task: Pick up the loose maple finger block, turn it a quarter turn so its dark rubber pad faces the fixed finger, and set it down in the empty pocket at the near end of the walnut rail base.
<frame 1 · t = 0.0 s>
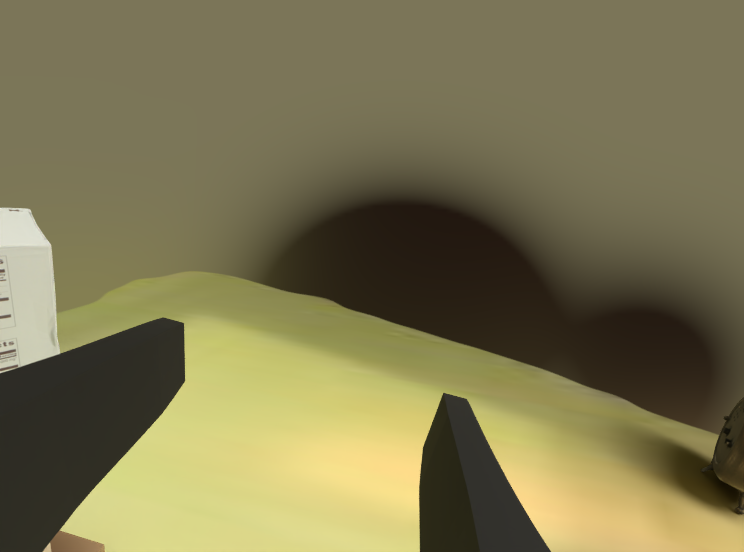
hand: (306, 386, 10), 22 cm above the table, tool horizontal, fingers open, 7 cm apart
alarm clock: (723, 486, 43), on the table
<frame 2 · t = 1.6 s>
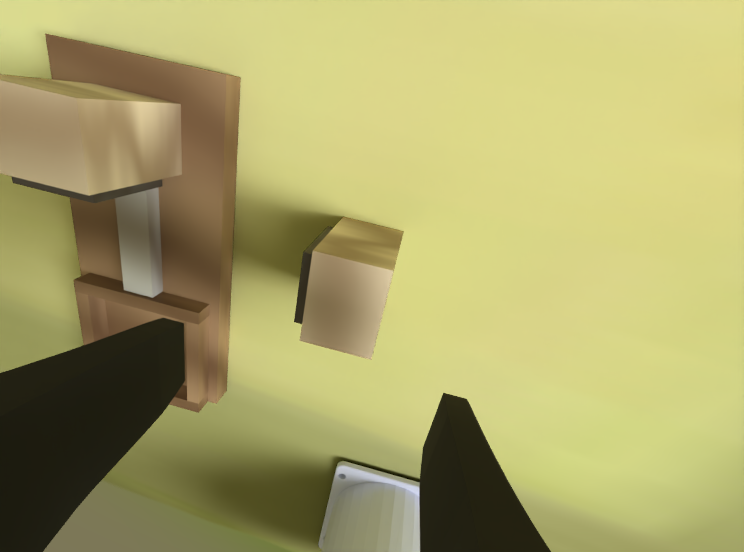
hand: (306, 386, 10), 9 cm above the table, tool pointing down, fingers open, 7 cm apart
rail base: (162, 245, 20), on the table
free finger: (365, 261, 18), on the table
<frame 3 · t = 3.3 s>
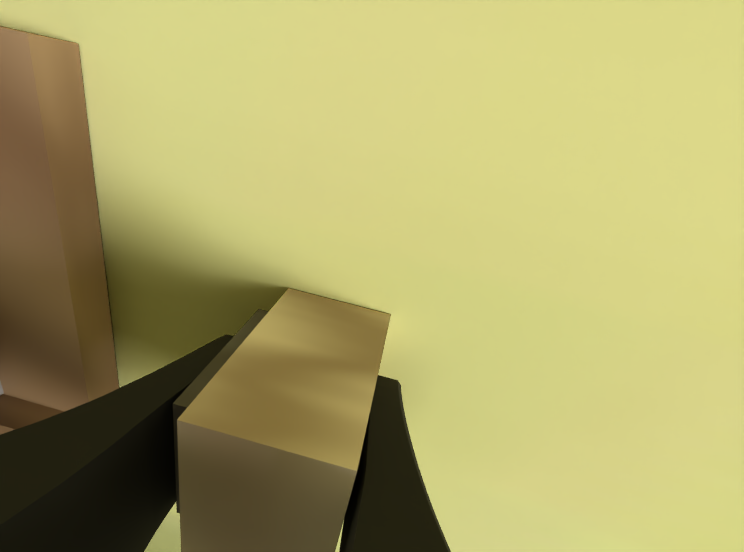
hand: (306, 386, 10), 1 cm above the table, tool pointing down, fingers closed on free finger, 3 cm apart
rail base: (7, 319, 13), on the table
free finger: (328, 357, 11), on the table, touching gripper
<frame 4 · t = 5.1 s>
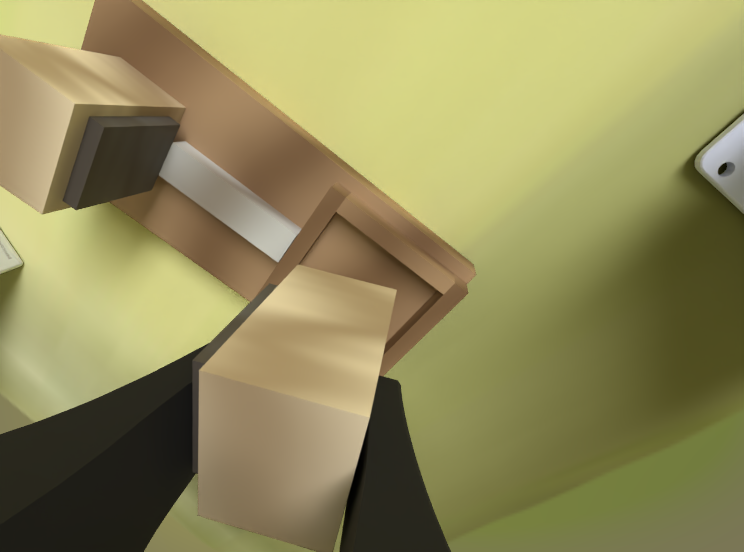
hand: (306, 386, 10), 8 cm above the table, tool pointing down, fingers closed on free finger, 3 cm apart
rail base: (267, 209, 17), on the table
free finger: (335, 333, 12), point 6 cm above the table, touching gripper
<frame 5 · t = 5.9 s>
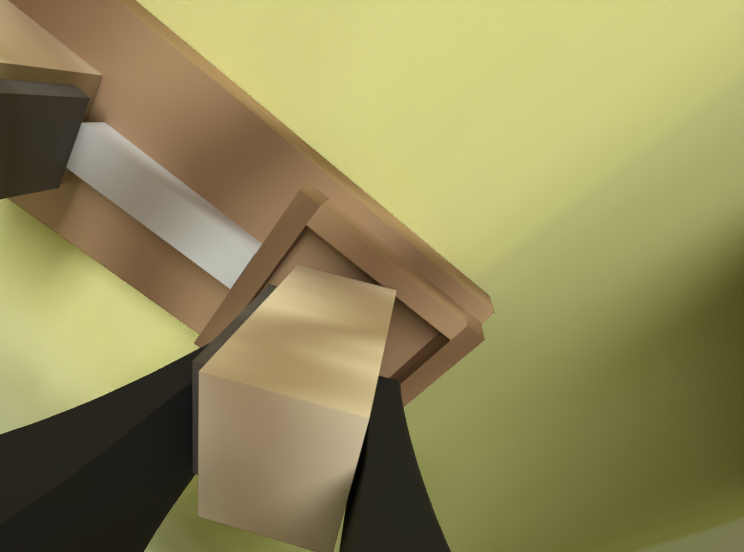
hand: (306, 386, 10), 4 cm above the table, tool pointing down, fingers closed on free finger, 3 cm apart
rail base: (222, 216, 13), on the table
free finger: (335, 333, 12), point 2 cm above the table, touching gripper
when the fingers open (4 cm above the table, at t = 6.8 s): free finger stays where it is, resting on rail base.
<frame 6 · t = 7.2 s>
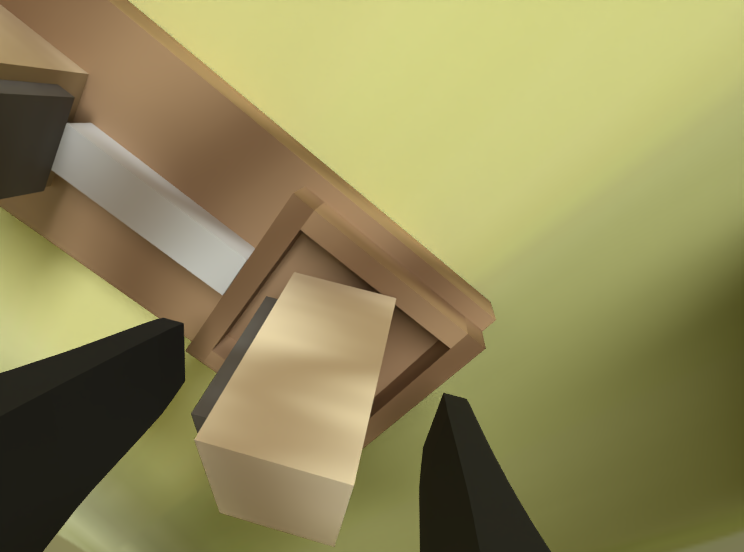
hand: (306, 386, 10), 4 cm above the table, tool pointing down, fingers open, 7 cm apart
rail base: (215, 219, 13), on the table
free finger: (338, 331, 12), point 2 cm above the table, tilted 15°, touching rail base
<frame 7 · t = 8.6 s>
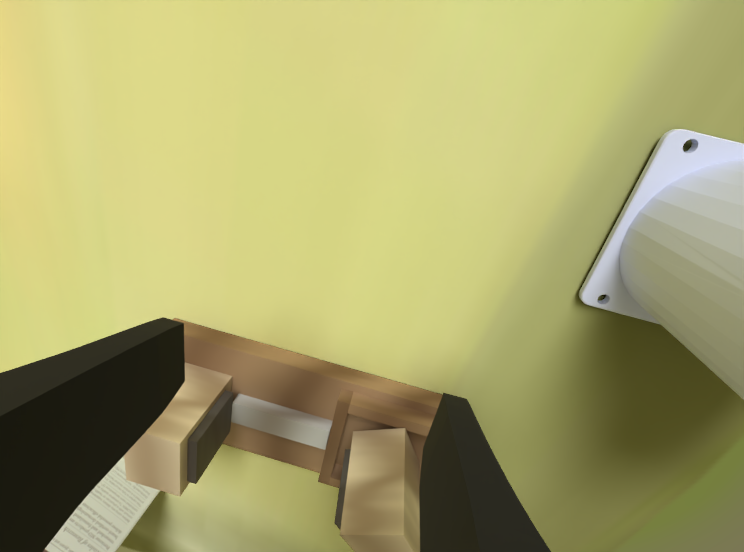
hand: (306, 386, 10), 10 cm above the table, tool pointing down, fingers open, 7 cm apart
supplement box: (98, 466, 30), on the table
rail base: (305, 407, 24), on the table
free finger: (387, 447, 22), point 2 cm above the table, tilted 15°, touching rail base
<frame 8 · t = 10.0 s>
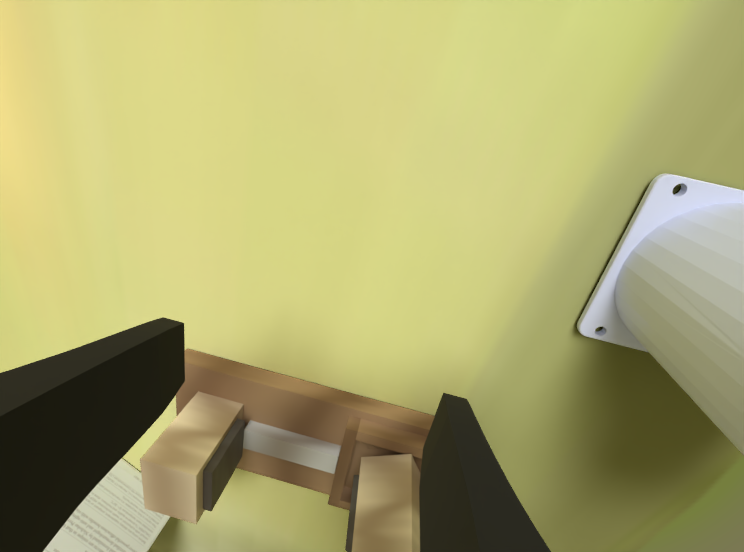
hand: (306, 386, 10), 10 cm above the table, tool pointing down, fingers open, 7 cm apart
supplement box: (113, 487, 31), on the table
rail base: (314, 431, 24), on the table
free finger: (394, 471, 22), point 2 cm above the table, tilted 15°, touching rail base
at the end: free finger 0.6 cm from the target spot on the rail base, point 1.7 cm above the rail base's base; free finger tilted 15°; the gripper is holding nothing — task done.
